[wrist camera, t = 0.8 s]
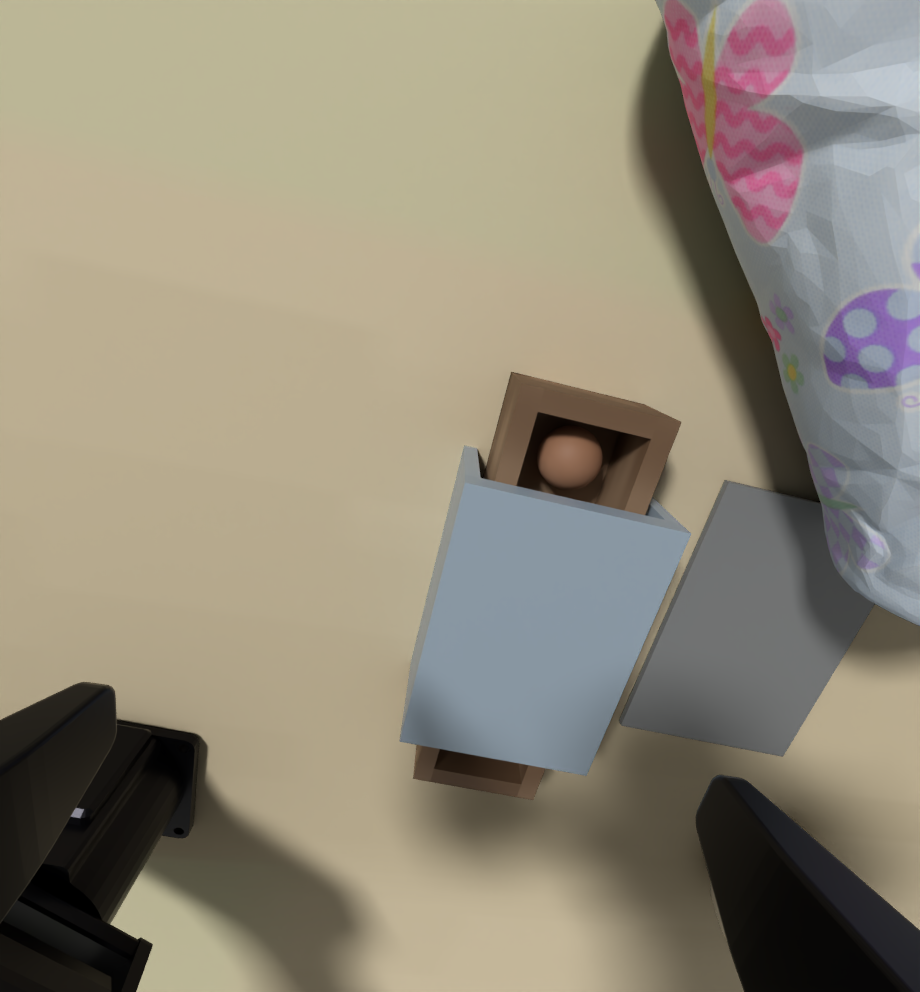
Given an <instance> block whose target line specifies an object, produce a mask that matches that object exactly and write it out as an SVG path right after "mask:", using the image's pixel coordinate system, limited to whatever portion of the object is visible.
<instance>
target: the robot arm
mask: <svg viewBox="0 0 920 992" xmlns="http://www.w3.org/2000/svg"><path fill="white" fill-rule="evenodd" d="M198 753H199V740H198V739H197V737H195V736H194V735H192V734H188V733H183V732H177V731H172V730H166V729H160V728H155V727H149V726H144V725H138V724H132V723H127V722H121V721H117V718H116V697H115V691H114V689H113V688H112V687H111V686H109V685H104V684H97V683H90V682H81V683H77V684H75V685H73V686H70V687H68V688H66V689H64V690H62V691H60V692H58V693H56V694H54V695H52V696H49V697H47V698H45V699H43V700H41V701H39V702H37V703H35V704H33V705H30V706H28V707H26V708H24V709H22V710H20V711H18V712H16V713H14V714H12V715H9V716H7V717H5V718H3V719H1V720H0V992H136V990H137V988H138V985H139V982H140V979H141V976H142V974H143V971H144V968H145V965H146V963H147V960H148V957H149V954H150V951H151V949H152V945H153V944H152V943H150V942H148V941H146V940H145V939H143V938H139V939H136V938H134V937H132V936H130V935H128V934H127V933H125V932H123V931H121V930H119V929H118V928H116V927H114V926H112V925H110V924H111V922H112V920H113V919H114V917H115V915H116V913H117V912H118V910H119V908H120V907H121V905H122V903H123V901H124V900H125V898H126V896H127V894H128V893H129V891H130V889H131V888H132V886H133V884H134V882H135V881H136V879H137V877H138V875H139V874H140V872H141V870H142V869H143V867H144V865H145V863H146V862H147V860H148V858H149V856H150V855H151V853H152V851H153V850H154V848H155V846H156V844H157V843H158V841H159V839H160V837H161V836H168V837H175V838H185V837H187V836H188V835H189V833H190V831H191V829H192V827H193V820H194V807H195V793H196V780H197V767H198ZM696 828H697V833H698V836H699V840H700V844H701V847H702V851H703V855H704V859H705V862H706V866H707V870H708V873H709V877H710V881H711V884H712V888H713V892H714V896H715V899H716V903H717V907H718V910H719V914H720V918H721V921H722V925H723V929H724V932H725V936H726V939H727V942H728V946H729V949H730V952H731V955H732V958H733V961H734V964H735V967H736V970H737V973H738V976H739V978H740V981H741V984H742V987H743V990H744V992H920V930H919V929H918V928H917V927H915V926H914V925H913V924H912V923H911V922H910V921H909V920H907V919H906V918H905V917H904V916H903V915H902V914H900V913H899V912H898V911H897V910H896V909H895V908H893V907H892V906H891V905H890V904H889V903H888V902H887V901H885V900H884V899H883V898H882V897H881V896H880V895H878V894H877V893H876V892H875V891H874V890H873V889H871V888H870V887H869V886H868V885H867V884H866V883H865V882H863V881H862V880H861V879H860V878H859V877H858V876H856V875H855V874H854V873H853V872H852V871H851V870H850V869H848V868H847V867H846V866H845V865H844V864H843V863H841V862H840V861H839V860H838V859H837V858H836V857H834V856H833V855H832V854H831V853H830V852H829V851H828V850H826V849H825V848H824V847H823V846H822V845H821V844H819V843H818V842H817V841H816V840H815V839H814V838H813V837H811V836H810V835H809V834H808V833H807V832H806V831H804V830H803V829H802V828H801V827H800V826H799V825H797V824H796V823H795V822H794V821H793V820H792V819H791V818H789V817H788V816H787V815H786V814H785V813H784V812H782V811H781V810H780V809H779V808H778V807H777V806H775V805H774V804H773V803H772V802H771V801H770V800H769V799H767V798H766V797H765V796H764V795H763V794H762V793H760V792H759V791H758V790H757V789H756V788H755V787H754V786H752V785H751V784H750V783H749V782H747V781H746V780H744V779H742V778H738V777H731V776H724V775H717V776H716V777H714V778H713V779H712V781H711V783H710V785H709V787H708V789H707V791H706V793H705V795H704V797H703V799H702V802H701V804H700V806H699V808H698V810H697V814H696Z"/></svg>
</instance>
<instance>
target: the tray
mask: <svg viewBox="0 0 920 992" xmlns="http://www.w3.org/2000/svg"><path fill="white" fill-rule="evenodd" d="M680 425H681V422H680V421H678V420H676V419H674V418H672V417H670V416H668V415H665V414H663V413H661V412H659V411H657V410H655V409H653V408H651V407H649V406H646V405H644V404H640V403H636V402H632V401H628V400H624V399H620V398H616V397H612V396H608V395H603V394H599V393H595V392H591V391H587V390H583V389H579V388H575V387H571V386H567V385H563V384H559V383H555V382H550V381H546V380H542V379H538V378H534V377H530V376H526V375H522V374H518V373H514V372H511V375H510V379H509V383H508V386H507V390H506V394H505V398H504V401H503V405H502V409H501V413H500V416H499V420H498V424H497V428H496V432H495V435H494V439H493V443H492V447H491V450H490V454H489V458H488V462H487V465H486V469H485V473H484V477H483V479H487V480H492V481H496V482H501V483H505V484H509V485H514V486H518V487H523V488H527V489H531V490H536V491H540V492H544V493H549V494H553V495H558V496H562V497H566V498H571V499H575V500H580V501H584V502H588V503H593V504H597V505H602V506H606V507H610V508H615V509H619V510H624V511H628V512H632V513H637V514H641V515H645V514H646V511H647V509H648V506H649V504H650V501H651V499H652V496H653V494H654V491H655V488H656V486H657V483H658V481H659V478H660V476H661V473H662V471H663V468H664V466H665V463H666V460H667V458H668V455H669V453H670V450H671V448H672V445H673V443H674V440H675V438H676V435H677V432H678V430H679V427H680ZM545 769H546V768H542V767H536V766H531V765H525V764H520V763H514V762H509V761H503V760H498V759H492V758H487V757H481V756H476V755H471V754H465V753H460V752H454V751H449V750H443V749H438V748H432V747H427V746H421V745H417V747H416V756H415V766H414V775H413V779H418V780H424V781H429V782H435V783H441V784H446V785H452V786H457V787H463V788H469V789H474V790H480V791H486V792H491V793H497V794H502V795H508V796H514V797H519V798H525V799H531V800H533V799H534V797H535V794H536V791H537V789H538V786H539V784H540V781H541V779H542V776H543V774H544V771H545Z"/></svg>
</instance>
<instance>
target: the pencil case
mask: <svg viewBox="0 0 920 992" xmlns="http://www.w3.org/2000/svg"><path fill="white" fill-rule="evenodd" d="M655 1H656V3H657V5H658V8H659V10H660V12H661V15H662V18H663V21H664V24H665V27H666V30H667V40H668V48H669V52H670V57H671V60H672V63H673V65H674V68H675V70H676V73H677V76H678V79H679V81H680V84H681V89H682V93H683V98H684V103H685V108H686V111H687V114H688V118H689V121H690V124H691V128H692V131H693V134H694V138H695V141H696V145H697V148H698V151H699V155H700V158H701V161H702V165H703V168H704V171H705V174H706V177H707V180H708V183H709V185H710V188H711V191H712V194H713V196H714V199H715V201H716V204H717V206H718V209H719V211H720V214H721V216H722V219H723V222H724V224H725V227H726V229H727V232H728V235H729V237H730V240H731V242H732V245H733V248H734V250H735V253H736V255H737V258H738V260H739V262H740V265H741V267H742V269H743V271H744V274H745V276H746V278H747V281H748V283H749V286H750V288H751V290H752V292H753V294H754V297H755V299H756V302H757V304H758V308H759V312H760V316H761V320H762V323H763V325H764V327H765V329H766V331H767V332H768V334H769V337H770V339H771V341H772V343H773V348H774V352H775V356H776V360H777V364H778V369H779V373H780V377H781V382H782V386H783V389H784V392H785V395H786V398H787V401H788V404H789V407H790V410H791V413H792V416H793V419H794V422H795V425H796V428H797V431H798V434H799V437H800V440H801V442H802V445H803V447H804V449H805V451H806V453H807V458H808V463H809V468H810V472H811V476H812V479H813V482H814V485H815V488H816V491H817V493H818V496H819V499H820V502H821V505H822V512H823V521H824V530H825V535H826V539H827V544H828V548H829V552H830V555H831V558H832V561H833V563H834V566H835V568H836V569H837V571H838V572H839V574H840V575H841V576H842V578H843V579H844V580H845V581H846V582H847V583H848V584H849V585H850V586H851V587H852V588H853V590H854V591H856V592H858V593H860V594H861V595H862V596H864V597H865V598H866V599H868V600H869V601H871V602H873V603H875V604H876V605H878V606H880V607H882V608H883V609H885V610H887V611H889V612H891V613H893V614H895V615H897V616H899V617H901V618H903V619H905V620H907V621H909V622H911V623H914V624H916V625H918V626H920V0H655Z"/></svg>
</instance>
